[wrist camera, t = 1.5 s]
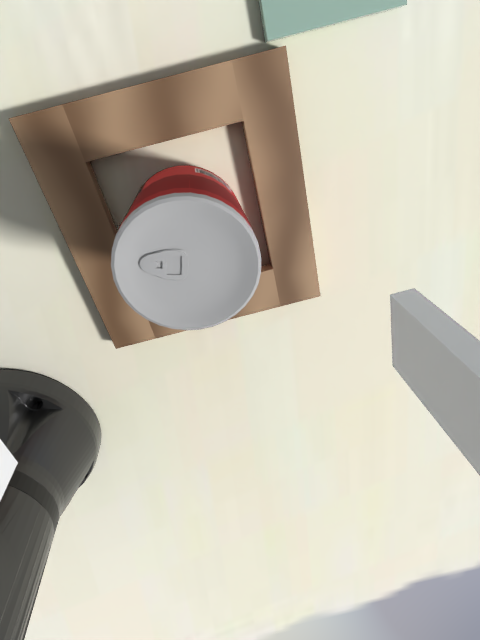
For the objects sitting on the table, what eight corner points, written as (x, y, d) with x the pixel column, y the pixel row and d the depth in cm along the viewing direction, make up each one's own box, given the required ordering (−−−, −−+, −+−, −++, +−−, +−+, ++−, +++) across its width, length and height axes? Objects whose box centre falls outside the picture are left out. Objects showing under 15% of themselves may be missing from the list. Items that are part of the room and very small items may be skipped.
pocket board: (118, 341, 35) (115, 348, 34) (15, 117, 26) (8, 118, 25) (316, 290, 35) (320, 296, 34) (281, 47, 26) (285, 45, 25)
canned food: (120, 175, 28) (86, 214, 19) (228, 152, 29) (250, 178, 19) (151, 272, 32) (136, 345, 23) (247, 252, 32) (272, 315, 23)
